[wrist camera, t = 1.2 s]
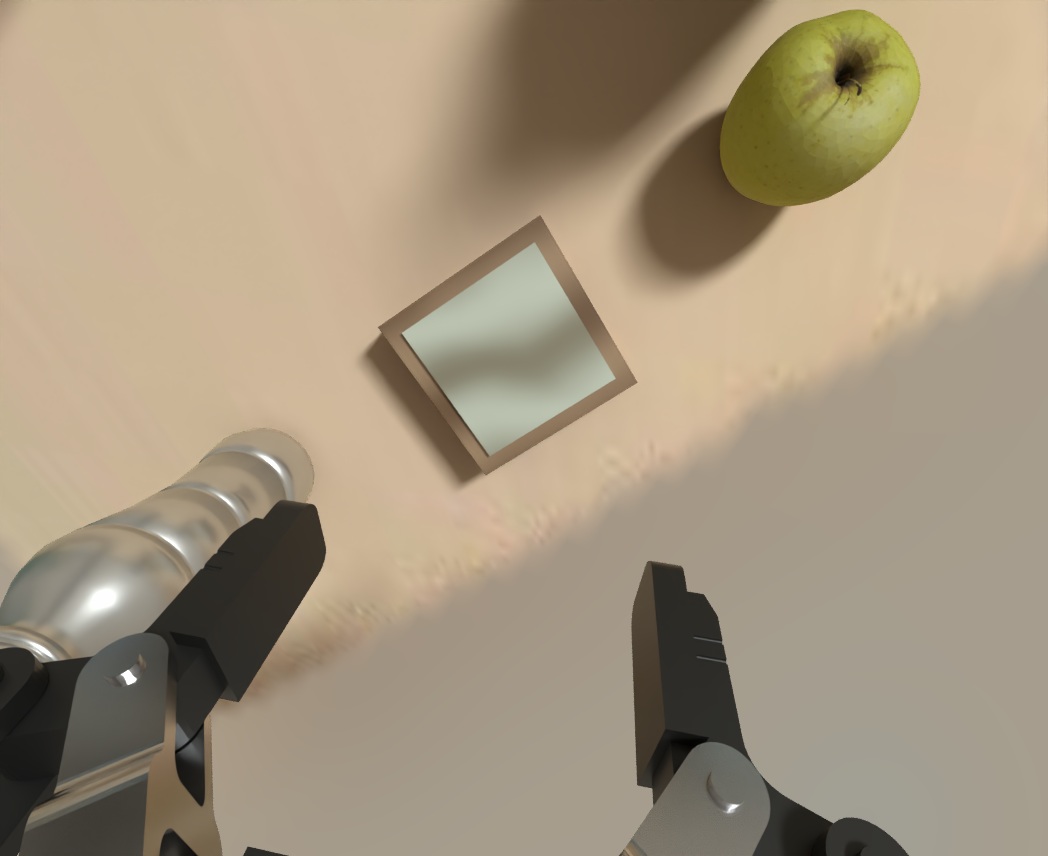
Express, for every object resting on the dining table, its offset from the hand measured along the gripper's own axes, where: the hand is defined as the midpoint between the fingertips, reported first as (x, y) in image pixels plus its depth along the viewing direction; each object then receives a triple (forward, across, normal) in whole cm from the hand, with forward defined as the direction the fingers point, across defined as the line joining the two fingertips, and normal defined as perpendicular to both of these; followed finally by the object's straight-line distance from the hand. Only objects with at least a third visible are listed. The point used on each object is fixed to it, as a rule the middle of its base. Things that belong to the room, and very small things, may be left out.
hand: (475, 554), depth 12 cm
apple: (+27, -11, -8) cm, 30 cm away
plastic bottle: (+16, +18, +13) cm, 27 cm away
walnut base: (+21, +2, +4) cm, 21 cm away
